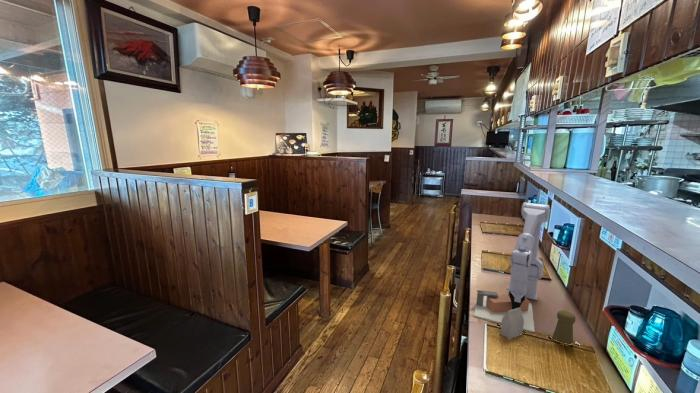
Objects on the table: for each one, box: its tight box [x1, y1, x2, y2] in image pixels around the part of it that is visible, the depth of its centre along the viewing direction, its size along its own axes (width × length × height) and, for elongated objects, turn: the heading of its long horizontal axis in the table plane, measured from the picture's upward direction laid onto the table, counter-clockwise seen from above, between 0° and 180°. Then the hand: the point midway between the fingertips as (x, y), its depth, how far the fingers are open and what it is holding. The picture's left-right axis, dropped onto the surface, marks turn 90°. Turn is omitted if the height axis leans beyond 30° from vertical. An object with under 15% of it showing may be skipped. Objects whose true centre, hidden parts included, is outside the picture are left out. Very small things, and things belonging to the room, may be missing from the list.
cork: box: [552, 310, 576, 344], centre depth 101 cm, size 6×6×11 cm
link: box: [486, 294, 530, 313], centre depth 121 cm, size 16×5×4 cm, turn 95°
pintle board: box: [473, 289, 535, 333], centre depth 120 cm, size 22×21×6 cm
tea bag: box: [500, 307, 524, 340], centre depth 104 cm, size 4×7×10 cm, turn 113°
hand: (515, 310), depth 116 cm, fingers closed
